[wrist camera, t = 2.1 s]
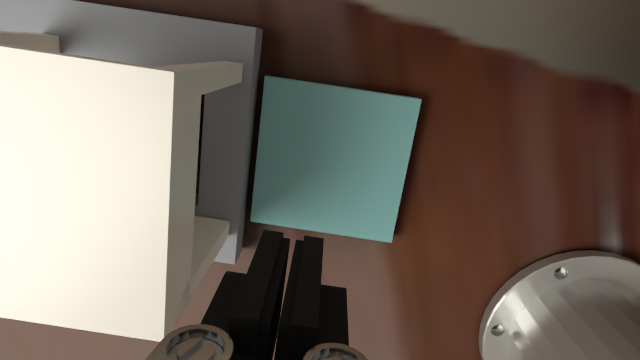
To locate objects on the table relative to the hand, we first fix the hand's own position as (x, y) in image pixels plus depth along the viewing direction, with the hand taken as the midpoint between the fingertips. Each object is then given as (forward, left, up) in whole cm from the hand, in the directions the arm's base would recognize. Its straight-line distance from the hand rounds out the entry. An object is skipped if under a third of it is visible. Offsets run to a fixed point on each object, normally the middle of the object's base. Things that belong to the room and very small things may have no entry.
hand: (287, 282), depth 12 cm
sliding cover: (+10, 0, -13) cm, 16 cm away
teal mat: (-1, 0, -15) cm, 15 cm away
